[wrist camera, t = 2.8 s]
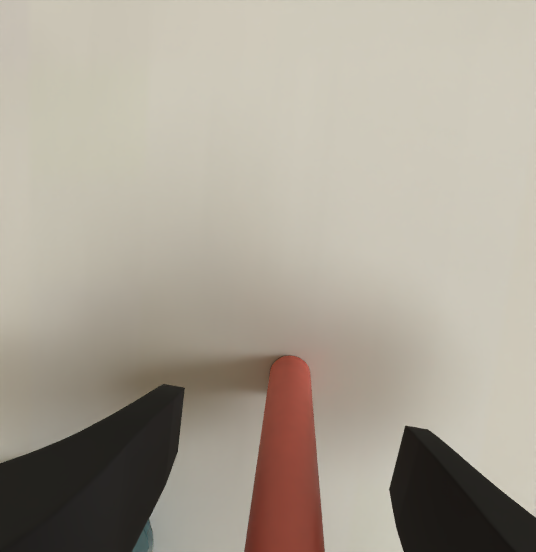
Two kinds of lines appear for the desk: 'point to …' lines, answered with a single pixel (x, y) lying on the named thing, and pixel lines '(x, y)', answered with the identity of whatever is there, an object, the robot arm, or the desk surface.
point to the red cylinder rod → (287, 467)
